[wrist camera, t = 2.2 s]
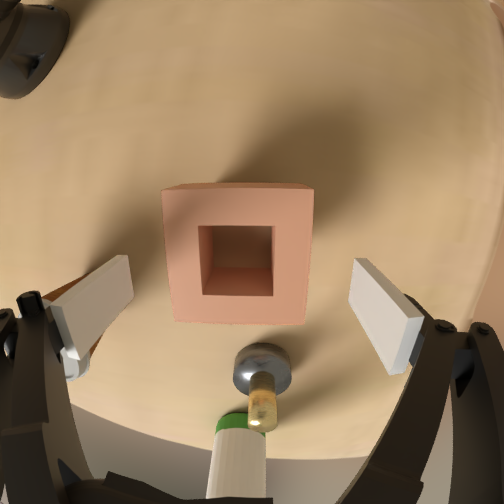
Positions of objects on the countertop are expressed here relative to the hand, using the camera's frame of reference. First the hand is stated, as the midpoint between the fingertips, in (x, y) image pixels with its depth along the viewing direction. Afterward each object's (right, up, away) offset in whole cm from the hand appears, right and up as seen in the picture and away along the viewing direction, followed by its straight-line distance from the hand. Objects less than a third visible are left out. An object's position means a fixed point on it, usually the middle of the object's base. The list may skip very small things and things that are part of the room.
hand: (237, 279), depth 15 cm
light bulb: (+2, -13, +18) cm, 22 cm away
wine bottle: (-1, -26, +22) cm, 34 cm away
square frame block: (0, +3, +6) cm, 7 cm away
